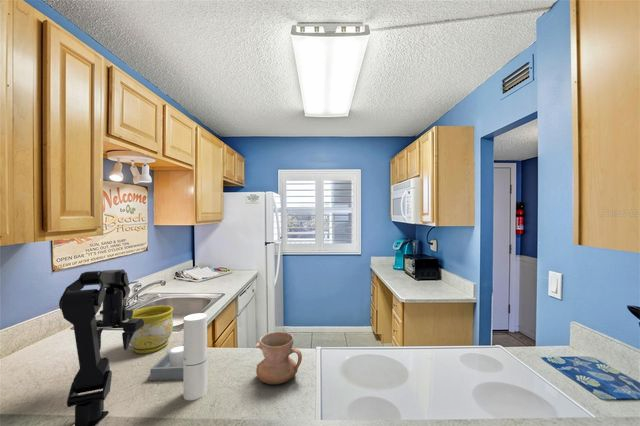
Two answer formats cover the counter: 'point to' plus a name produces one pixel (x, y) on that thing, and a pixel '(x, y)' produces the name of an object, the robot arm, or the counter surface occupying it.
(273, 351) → the ceramic jug
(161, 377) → the tray
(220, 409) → the counter surface
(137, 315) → the flowerpot
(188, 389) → the cylindrical container
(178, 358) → the short white cylinder
